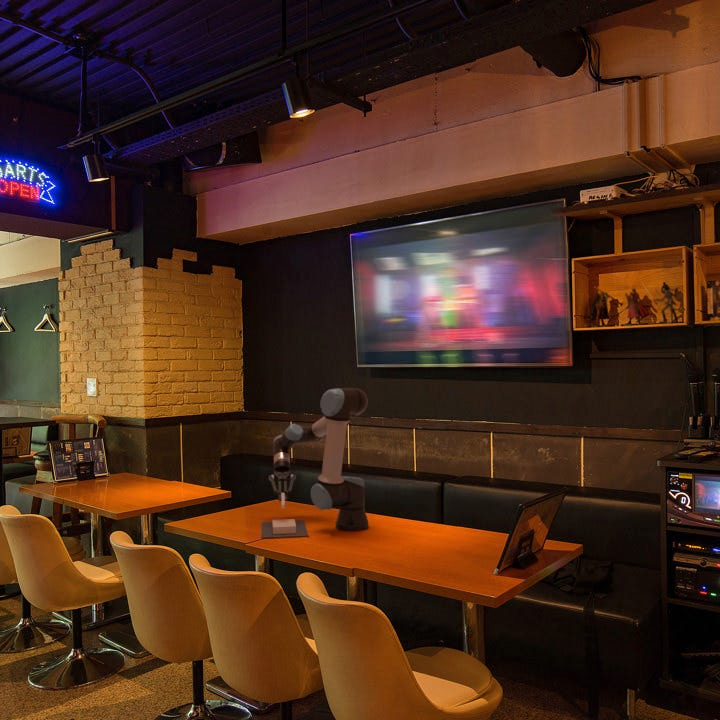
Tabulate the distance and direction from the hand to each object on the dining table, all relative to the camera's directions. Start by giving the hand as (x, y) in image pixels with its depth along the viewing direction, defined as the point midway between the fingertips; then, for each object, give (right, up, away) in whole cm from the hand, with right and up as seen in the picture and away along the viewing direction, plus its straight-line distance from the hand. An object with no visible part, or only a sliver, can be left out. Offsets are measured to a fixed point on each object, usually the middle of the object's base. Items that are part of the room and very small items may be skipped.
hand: (283, 506), depth 305 cm
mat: (0, -11, +2) cm, 11 cm away
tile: (0, -8, +5) cm, 10 cm away
